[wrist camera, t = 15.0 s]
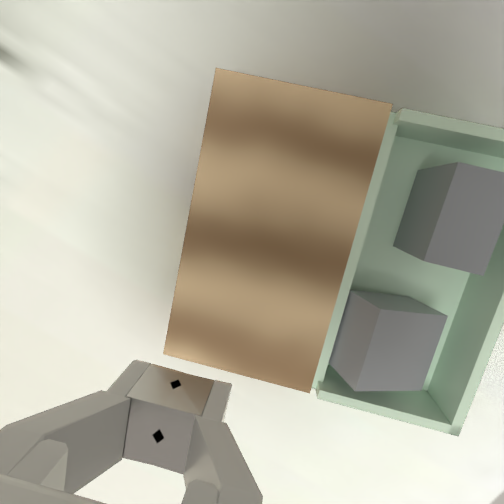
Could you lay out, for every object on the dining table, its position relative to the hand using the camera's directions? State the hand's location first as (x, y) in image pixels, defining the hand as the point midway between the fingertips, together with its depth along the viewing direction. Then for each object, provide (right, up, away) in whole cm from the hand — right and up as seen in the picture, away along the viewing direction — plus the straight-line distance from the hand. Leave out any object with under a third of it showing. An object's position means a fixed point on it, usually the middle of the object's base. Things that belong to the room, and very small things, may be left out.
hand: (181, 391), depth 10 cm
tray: (+13, +3, +12) cm, 18 cm away
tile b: (+10, -1, +12) cm, 15 cm away
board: (+3, +5, +13) cm, 14 cm away
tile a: (+12, +7, +9) cm, 16 cm away
